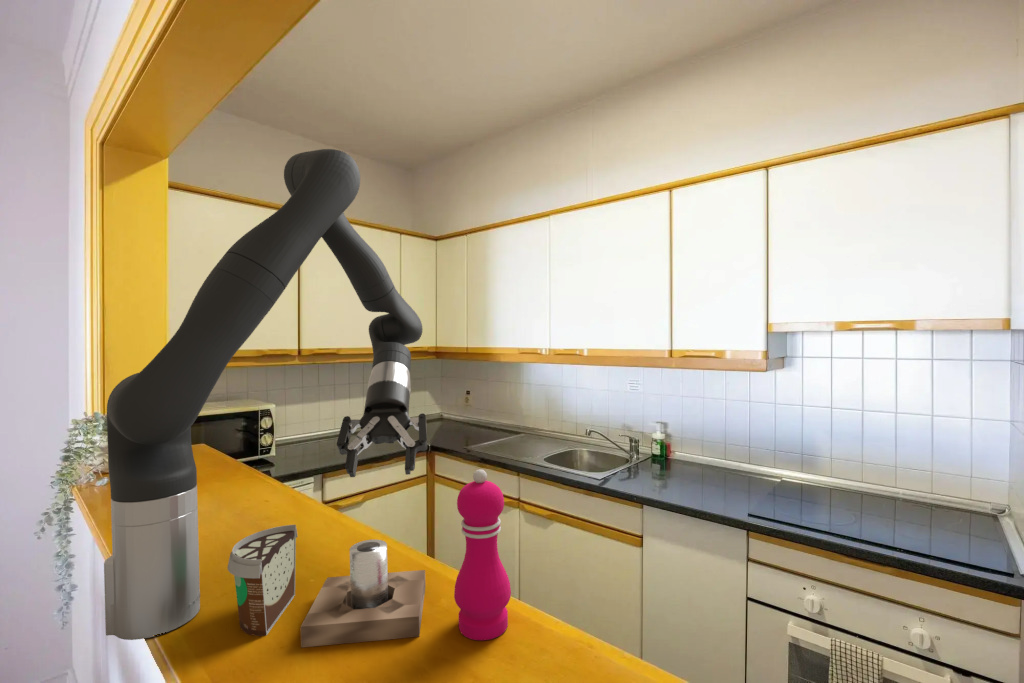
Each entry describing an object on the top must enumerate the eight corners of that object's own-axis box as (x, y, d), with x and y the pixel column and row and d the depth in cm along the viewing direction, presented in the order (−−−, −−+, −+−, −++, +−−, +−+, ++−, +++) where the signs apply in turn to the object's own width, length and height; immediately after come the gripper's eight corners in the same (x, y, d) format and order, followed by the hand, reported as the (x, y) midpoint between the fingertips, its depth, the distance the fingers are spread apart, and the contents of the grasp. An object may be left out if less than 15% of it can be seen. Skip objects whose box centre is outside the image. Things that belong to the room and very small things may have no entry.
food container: (256, 592, 70) (254, 525, 70) (298, 590, 71) (297, 523, 71) (208, 646, 58) (206, 564, 58) (261, 643, 58) (259, 561, 58)
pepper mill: (460, 649, 56) (456, 480, 56) (450, 615, 63) (447, 465, 63) (518, 637, 58) (515, 474, 58) (503, 605, 65) (500, 460, 65)
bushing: (347, 625, 62) (345, 556, 62) (355, 605, 66) (353, 540, 66) (385, 622, 62) (383, 553, 62) (390, 602, 67) (389, 538, 67)
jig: (301, 647, 57) (300, 626, 57) (327, 594, 69) (327, 577, 69) (419, 636, 59) (418, 616, 59) (425, 586, 71) (425, 569, 71)
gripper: (344, 380, 83) (327, 463, 71) (427, 377, 84) (424, 458, 73) (351, 406, 88) (337, 487, 77) (429, 403, 89) (427, 482, 78)
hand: (379, 473), depth 75 cm, fingers open, 8 cm apart
